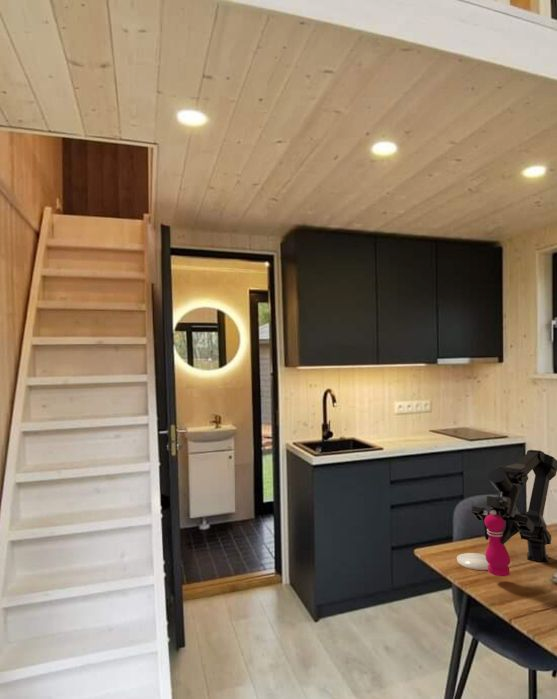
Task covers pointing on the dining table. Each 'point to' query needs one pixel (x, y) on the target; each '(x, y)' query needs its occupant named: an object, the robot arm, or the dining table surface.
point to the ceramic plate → (473, 561)
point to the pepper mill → (496, 546)
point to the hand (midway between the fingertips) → (494, 541)
